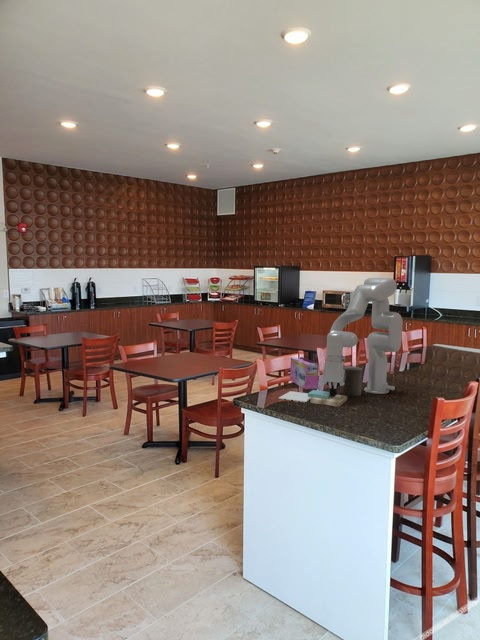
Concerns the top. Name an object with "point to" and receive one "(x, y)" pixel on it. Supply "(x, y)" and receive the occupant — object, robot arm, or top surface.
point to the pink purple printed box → (304, 373)
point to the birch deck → (330, 400)
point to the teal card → (319, 394)
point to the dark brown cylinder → (352, 381)
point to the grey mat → (296, 396)
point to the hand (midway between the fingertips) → (333, 396)
